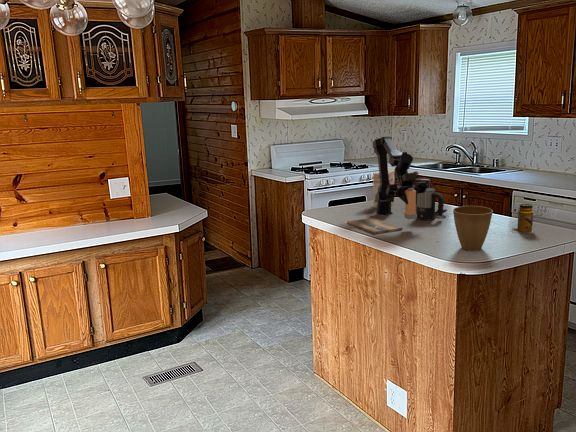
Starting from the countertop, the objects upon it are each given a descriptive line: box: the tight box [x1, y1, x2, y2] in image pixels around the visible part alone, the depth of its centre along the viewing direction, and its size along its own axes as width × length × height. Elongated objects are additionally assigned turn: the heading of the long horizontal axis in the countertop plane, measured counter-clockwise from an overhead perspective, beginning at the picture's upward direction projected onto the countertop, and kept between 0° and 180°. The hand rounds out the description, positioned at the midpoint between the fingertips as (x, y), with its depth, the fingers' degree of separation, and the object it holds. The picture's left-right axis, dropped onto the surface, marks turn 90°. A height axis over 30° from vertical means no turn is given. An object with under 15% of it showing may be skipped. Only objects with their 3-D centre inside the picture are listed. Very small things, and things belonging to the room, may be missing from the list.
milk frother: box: [416, 187, 448, 221], centre depth 270 cm, size 14×16×15 cm
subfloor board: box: [346, 217, 403, 235], centre depth 258 cm, size 15×25×1 cm, turn 24°
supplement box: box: [412, 178, 431, 209], centre depth 292 cm, size 9×5×16 cm, turn 65°
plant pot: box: [452, 205, 494, 251], centre depth 214 cm, size 15×15×16 cm
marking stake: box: [404, 188, 417, 220], centre depth 247 cm, size 4×4×14 cm
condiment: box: [511, 203, 534, 234], centre depth 237 cm, size 7×8×12 cm
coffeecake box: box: [372, 169, 395, 209], centre depth 302 cm, size 15×7×20 cm, turn 147°
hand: (411, 203), depth 245 cm, fingers closed on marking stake, 4 cm apart
